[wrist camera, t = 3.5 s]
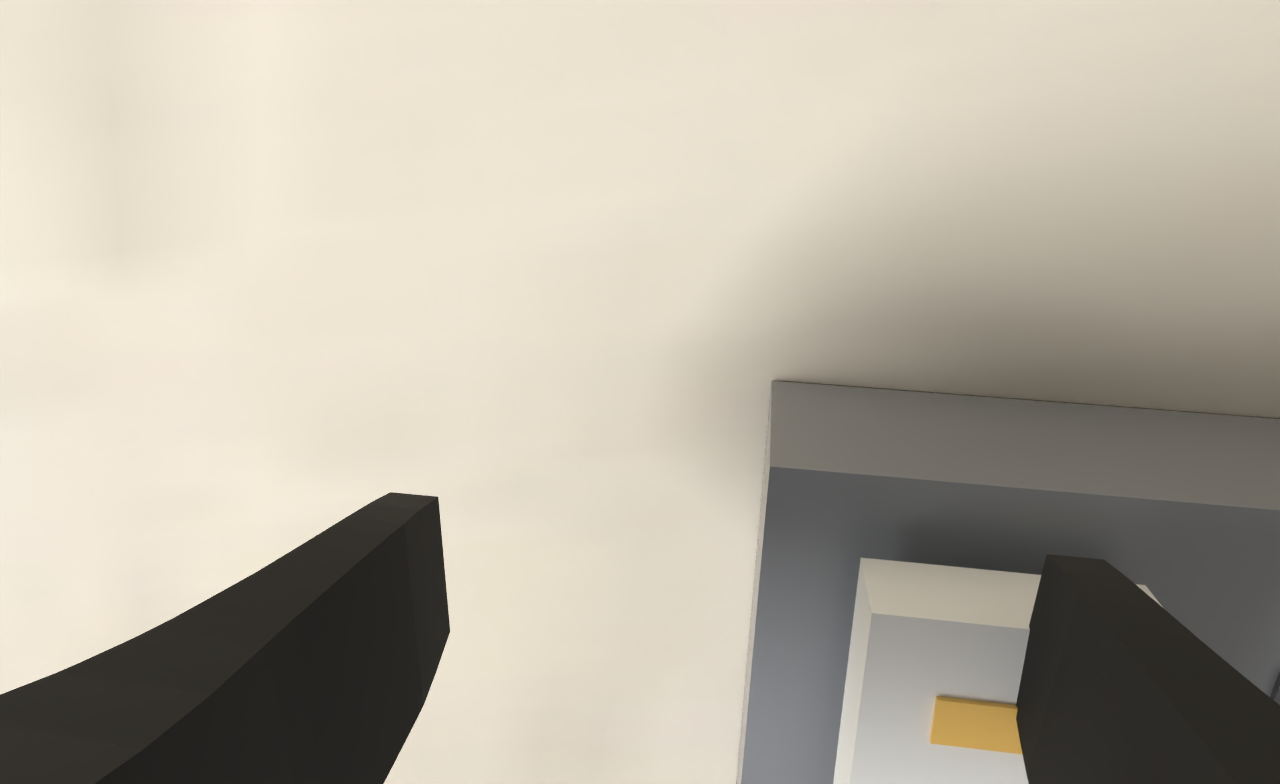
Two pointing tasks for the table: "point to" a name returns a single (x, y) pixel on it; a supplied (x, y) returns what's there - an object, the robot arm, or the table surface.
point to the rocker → (935, 675)
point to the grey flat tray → (992, 530)
